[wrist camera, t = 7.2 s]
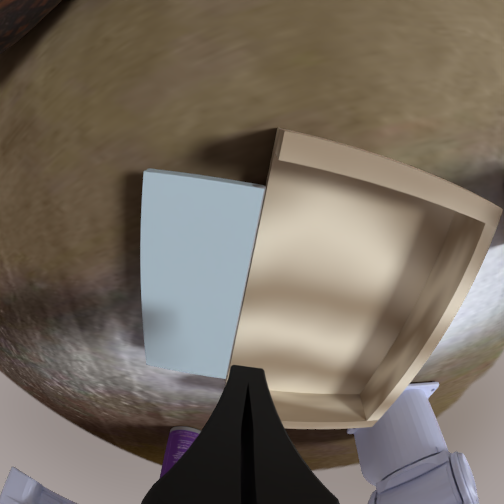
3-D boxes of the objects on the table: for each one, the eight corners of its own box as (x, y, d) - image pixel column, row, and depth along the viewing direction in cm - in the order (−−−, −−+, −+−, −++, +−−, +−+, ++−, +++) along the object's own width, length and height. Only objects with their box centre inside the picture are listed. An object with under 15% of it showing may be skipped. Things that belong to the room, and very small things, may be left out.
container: (199, 425, 27) (182, 544, 14) (213, 442, 29) (202, 548, 16) (163, 425, 28) (139, 535, 14) (180, 442, 30) (162, 542, 16)
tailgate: (226, 379, 20) (146, 364, 19) (227, 371, 20) (149, 357, 20) (266, 189, 14) (143, 171, 13) (265, 185, 14) (148, 168, 14)
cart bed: (361, 389, 24) (372, 426, 20) (225, 379, 23) (221, 422, 19) (461, 186, 15) (503, 208, 11) (277, 127, 14) (284, 130, 10)
